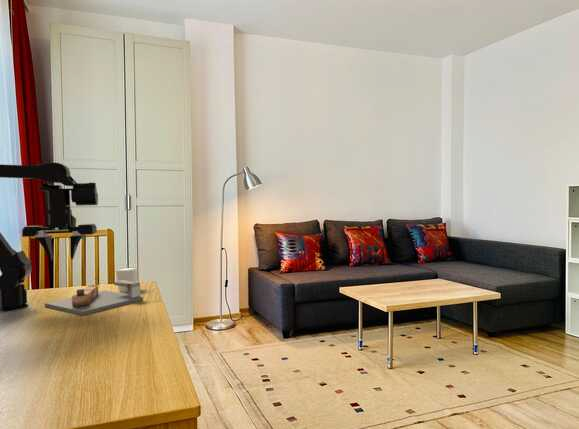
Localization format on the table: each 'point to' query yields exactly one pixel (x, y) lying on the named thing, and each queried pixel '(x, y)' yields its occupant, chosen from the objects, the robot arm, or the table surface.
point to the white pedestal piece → (126, 276)
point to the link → (84, 296)
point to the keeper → (130, 287)
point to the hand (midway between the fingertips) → (61, 259)
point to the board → (94, 303)
